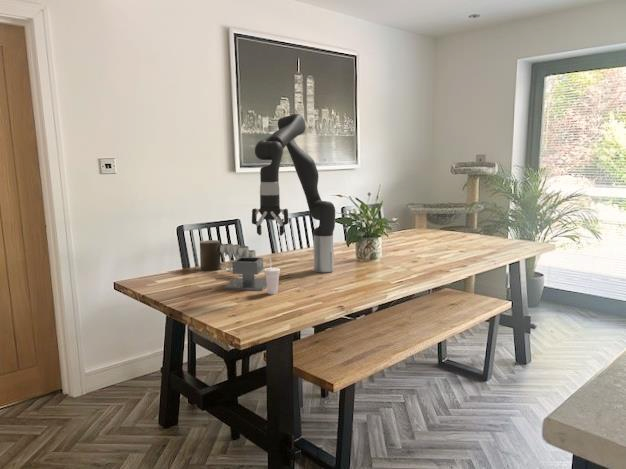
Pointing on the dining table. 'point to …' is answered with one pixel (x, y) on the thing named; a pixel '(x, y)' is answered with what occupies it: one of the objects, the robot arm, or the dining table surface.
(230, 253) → the goblet set
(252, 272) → the stand
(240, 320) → the dining table surface
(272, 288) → the smoothie
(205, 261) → the pillar candle
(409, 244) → the dining table surface
